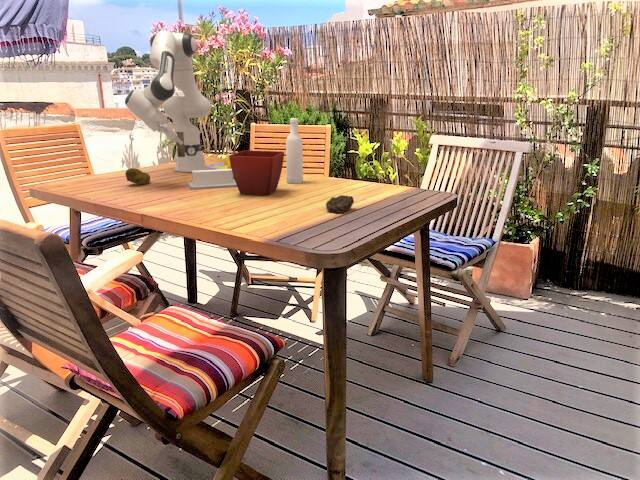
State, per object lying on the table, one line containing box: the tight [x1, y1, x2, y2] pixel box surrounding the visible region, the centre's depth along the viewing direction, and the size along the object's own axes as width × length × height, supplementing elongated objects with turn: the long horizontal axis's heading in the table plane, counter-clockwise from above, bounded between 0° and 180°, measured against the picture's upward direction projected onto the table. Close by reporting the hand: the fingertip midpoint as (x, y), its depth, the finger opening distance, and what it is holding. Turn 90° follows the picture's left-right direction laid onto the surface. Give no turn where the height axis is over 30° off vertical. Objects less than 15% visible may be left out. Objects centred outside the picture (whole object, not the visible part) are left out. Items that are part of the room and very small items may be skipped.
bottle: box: [285, 117, 304, 185], centre depth 248 cm, size 8×8×30 cm
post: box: [175, 131, 185, 157], centre depth 239 cm, size 3×3×11 cm
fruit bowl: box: [206, 153, 234, 179], centre depth 267 cm, size 28×27×11 cm
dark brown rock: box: [325, 195, 355, 214], centre depth 196 cm, size 12×10×5 cm
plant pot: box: [228, 149, 285, 196], centre depth 226 cm, size 19×19×17 cm
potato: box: [125, 167, 151, 186], centre depth 245 cm, size 8×13×8 cm, turn 136°
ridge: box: [186, 169, 238, 191], centre depth 243 cm, size 14×22×7 cm, turn 110°
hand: (182, 143), depth 239 cm, fingers closed on post, 3 cm apart
